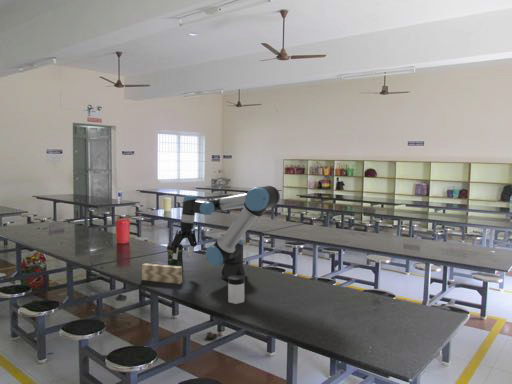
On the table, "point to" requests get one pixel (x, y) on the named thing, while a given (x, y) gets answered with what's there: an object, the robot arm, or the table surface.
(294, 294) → the table surface
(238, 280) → the jar
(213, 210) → the robot arm
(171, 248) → the coffee jar
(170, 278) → the wooden block
